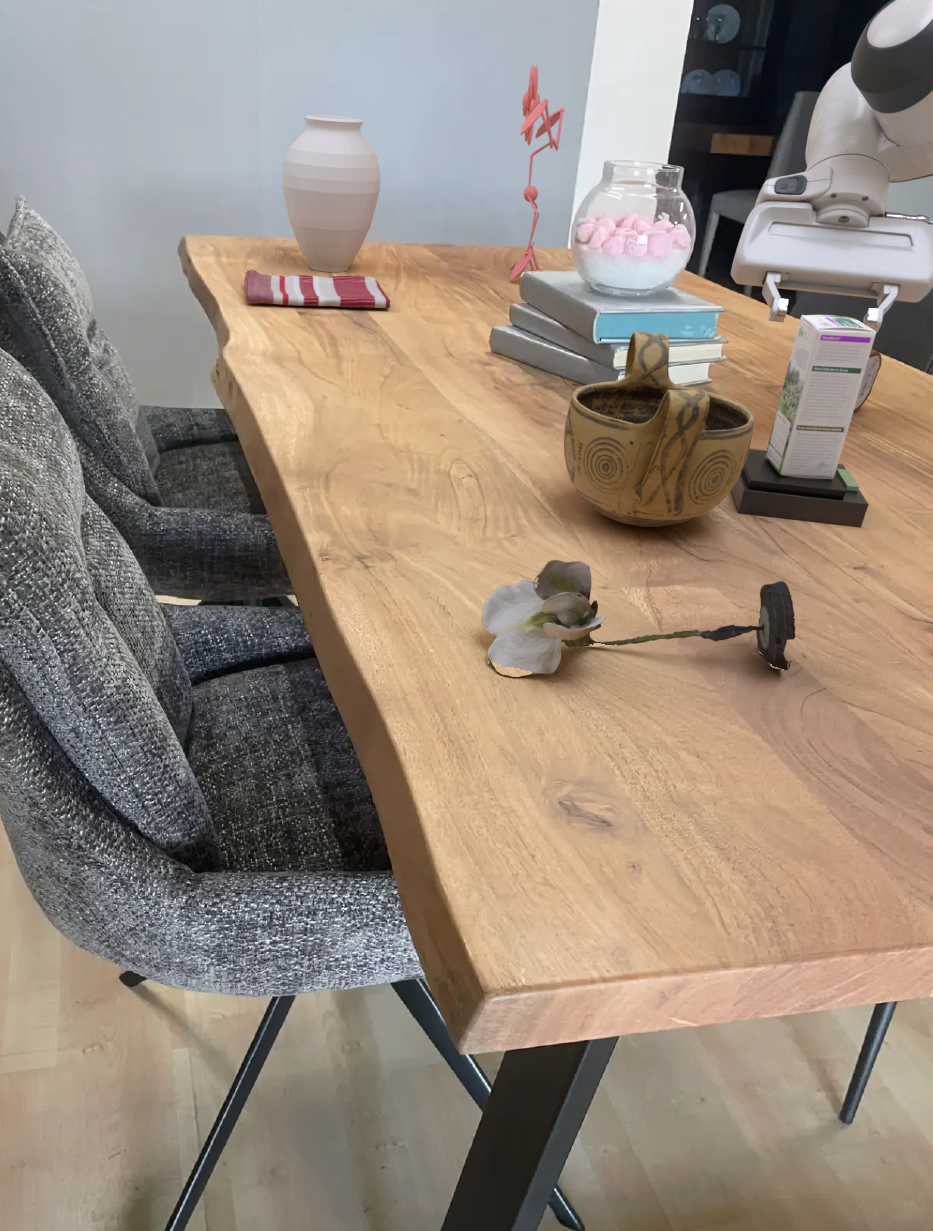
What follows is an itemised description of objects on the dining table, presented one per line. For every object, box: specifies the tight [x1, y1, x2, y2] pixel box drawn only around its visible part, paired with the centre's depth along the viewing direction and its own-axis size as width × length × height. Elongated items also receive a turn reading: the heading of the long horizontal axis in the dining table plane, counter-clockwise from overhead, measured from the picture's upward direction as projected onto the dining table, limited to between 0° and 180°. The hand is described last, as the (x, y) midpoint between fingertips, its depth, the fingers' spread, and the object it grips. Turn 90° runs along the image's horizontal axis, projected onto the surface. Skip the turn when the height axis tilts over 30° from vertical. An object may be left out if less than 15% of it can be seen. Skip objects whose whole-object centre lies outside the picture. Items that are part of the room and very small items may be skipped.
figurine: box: [467, 64, 565, 283], centre depth 195 cm, size 15×26×35 cm, turn 170°
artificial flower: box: [481, 559, 809, 675], centre depth 76 cm, size 9×22×10 cm, turn 88°
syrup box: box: [765, 314, 877, 479], centre depth 104 cm, size 6×6×14 cm
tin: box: [853, 348, 883, 414], centre depth 135 cm, size 15×3×8 cm, turn 134°
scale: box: [730, 448, 869, 528], centre depth 109 cm, size 12×12×3 cm
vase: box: [282, 113, 381, 273], centre depth 193 cm, size 18×18×25 cm
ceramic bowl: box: [563, 331, 755, 528], centre depth 99 cm, size 22×17×15 cm
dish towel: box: [243, 268, 391, 309], centre depth 176 cm, size 17×23×3 cm
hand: (824, 323), depth 109 cm, fingers open, 8 cm apart
